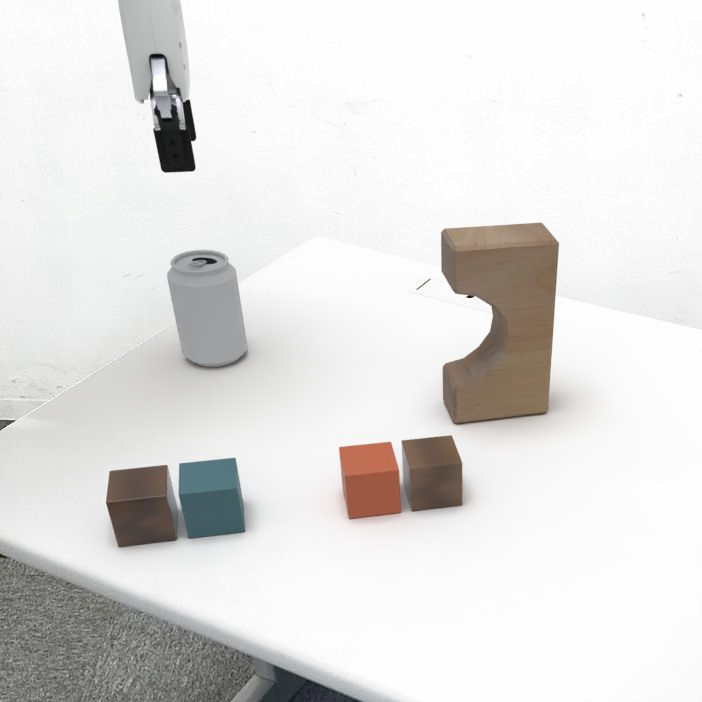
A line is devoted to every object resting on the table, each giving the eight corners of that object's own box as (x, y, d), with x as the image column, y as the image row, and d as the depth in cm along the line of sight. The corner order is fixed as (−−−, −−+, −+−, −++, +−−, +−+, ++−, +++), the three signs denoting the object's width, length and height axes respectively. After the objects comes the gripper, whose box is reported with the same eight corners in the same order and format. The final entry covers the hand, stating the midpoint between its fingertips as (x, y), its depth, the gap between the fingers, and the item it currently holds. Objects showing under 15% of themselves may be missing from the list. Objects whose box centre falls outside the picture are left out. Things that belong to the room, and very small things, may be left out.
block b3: (348, 519, 91) (344, 475, 88) (342, 489, 95) (338, 446, 92) (401, 512, 92) (399, 469, 89) (393, 483, 96) (391, 441, 93)
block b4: (411, 511, 93) (409, 468, 90) (403, 482, 96) (401, 440, 93) (462, 505, 94) (462, 462, 91) (452, 476, 98) (451, 434, 94)
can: (259, 346, 117) (245, 250, 110) (230, 374, 111) (213, 275, 104) (202, 337, 118) (185, 242, 111) (171, 364, 113) (150, 266, 105)
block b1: (118, 547, 86) (105, 502, 83) (121, 514, 90) (109, 470, 87) (176, 540, 87) (166, 495, 84) (177, 508, 91) (167, 464, 88)
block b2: (188, 538, 88) (178, 494, 85) (188, 506, 91) (179, 463, 88) (245, 531, 89) (237, 487, 86) (243, 500, 93) (235, 457, 90)
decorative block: (452, 425, 105) (451, 248, 93) (442, 399, 109) (439, 226, 97) (549, 415, 108) (561, 241, 96) (535, 390, 112) (544, 220, 100)
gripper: (106, -54, 93) (145, 131, 103) (90, -23, 80) (136, 186, 90) (188, -54, 94) (217, 129, 105) (185, -22, 81) (219, 182, 92)
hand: (180, 155), depth 98 cm, fingers open, 9 cm apart
